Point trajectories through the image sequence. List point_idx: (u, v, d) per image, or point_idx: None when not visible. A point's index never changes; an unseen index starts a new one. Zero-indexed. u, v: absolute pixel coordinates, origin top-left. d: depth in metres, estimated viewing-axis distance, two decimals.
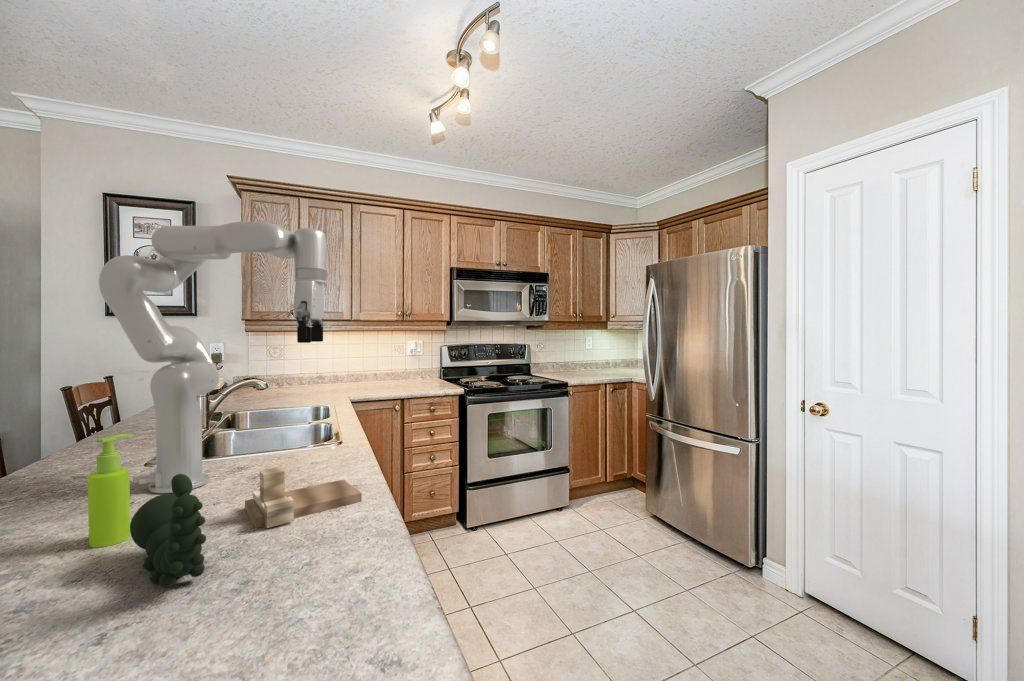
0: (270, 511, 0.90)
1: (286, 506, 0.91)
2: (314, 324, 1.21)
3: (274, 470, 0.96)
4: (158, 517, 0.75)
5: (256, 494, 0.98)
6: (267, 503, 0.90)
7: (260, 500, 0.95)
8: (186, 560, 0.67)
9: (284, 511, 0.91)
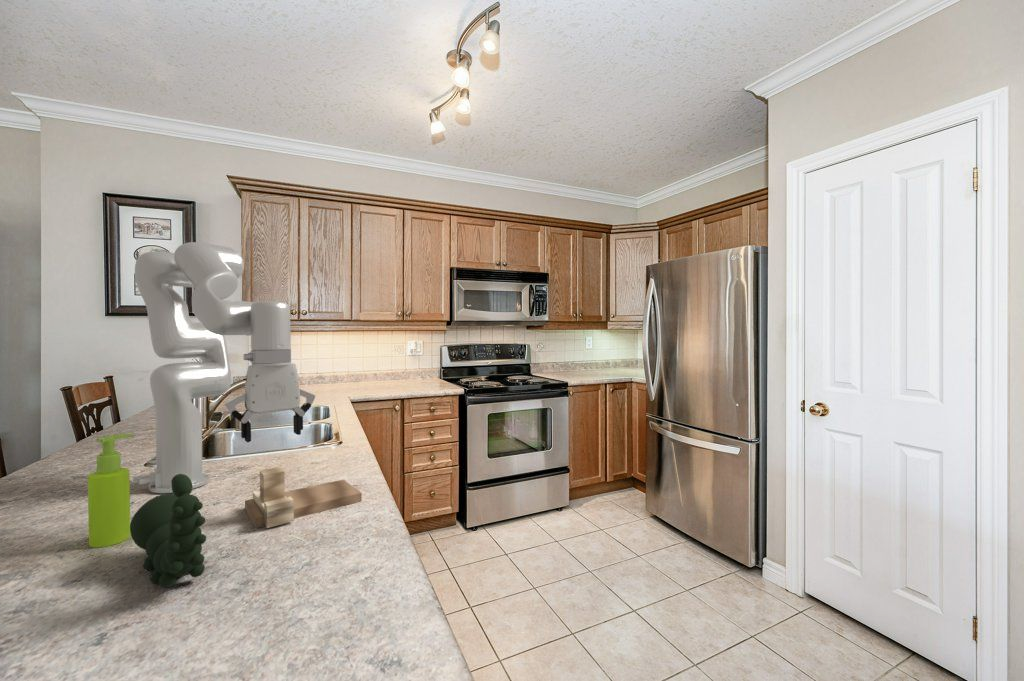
0: (270, 511, 0.90)
1: (286, 506, 0.91)
2: None
3: (274, 470, 0.96)
4: (158, 517, 0.75)
5: (256, 494, 0.98)
6: (267, 503, 0.90)
7: (260, 500, 0.95)
8: (186, 560, 0.67)
9: (284, 511, 0.91)
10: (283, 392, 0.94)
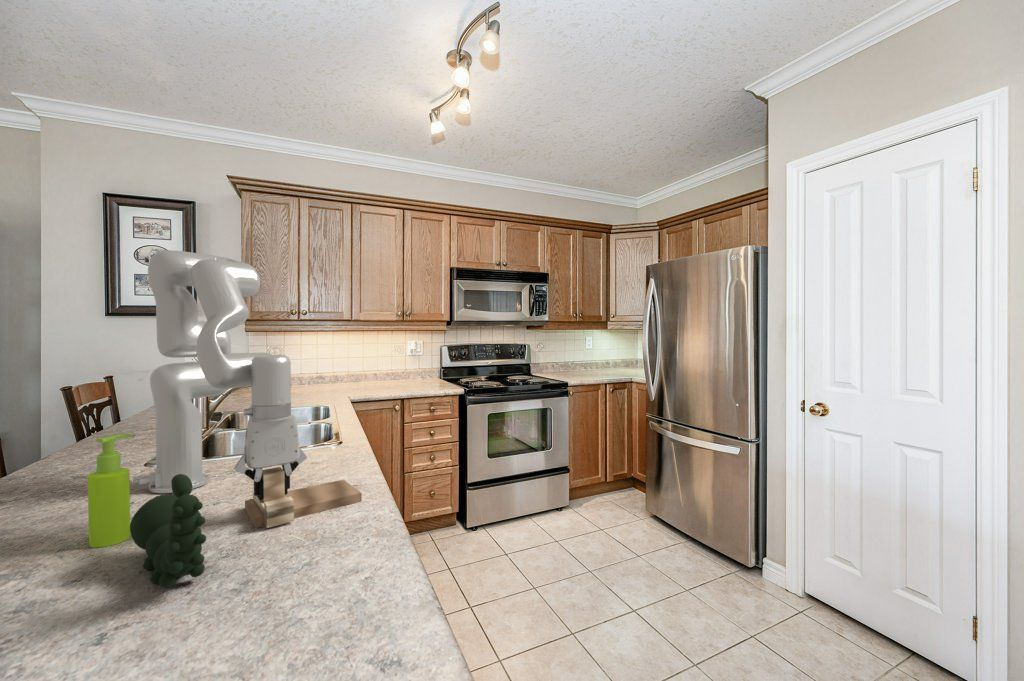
0: (270, 511, 0.90)
1: (286, 506, 0.91)
2: None
3: (274, 470, 0.96)
4: (158, 517, 0.75)
5: None
6: (267, 503, 0.90)
7: (260, 500, 0.95)
8: (186, 560, 0.67)
9: (284, 511, 0.91)
10: (283, 446, 0.95)
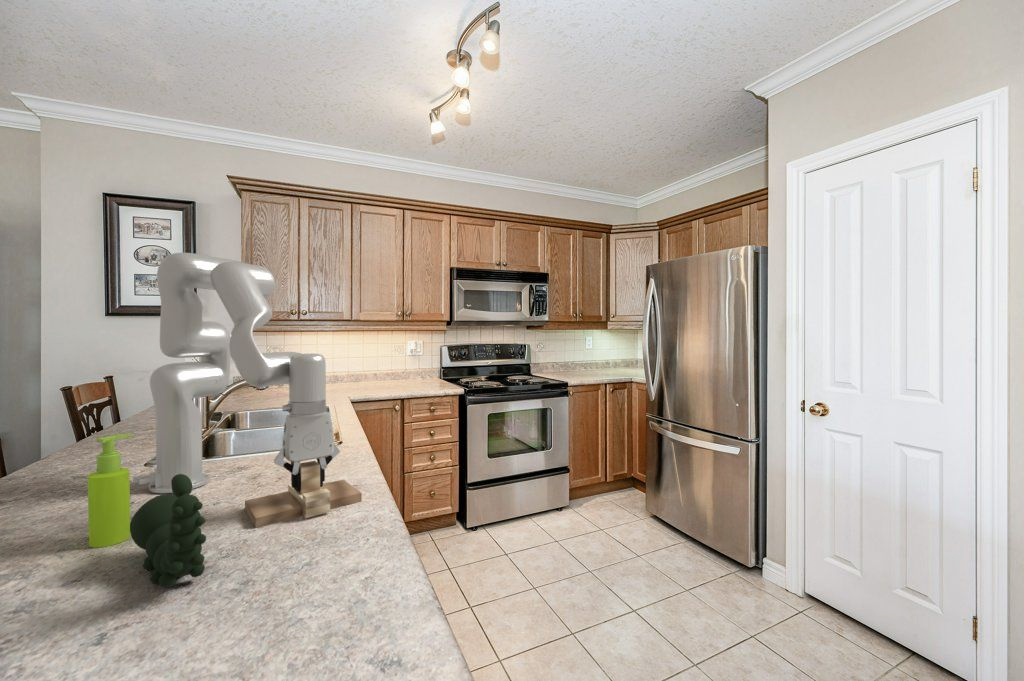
0: (308, 502, 0.94)
1: (323, 497, 0.96)
2: None
3: (310, 464, 1.01)
4: (158, 517, 0.75)
5: None
6: (305, 494, 0.95)
7: (297, 492, 1.00)
8: (186, 560, 0.67)
9: (321, 502, 0.96)
10: (318, 441, 1.00)
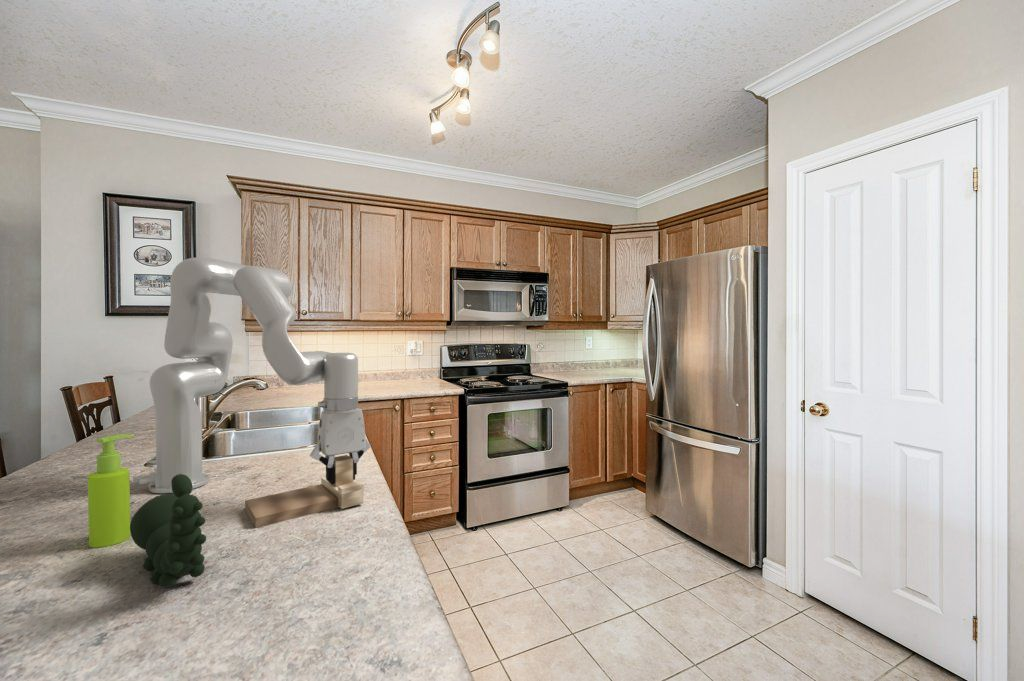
0: (344, 494, 0.99)
1: (357, 489, 1.01)
2: None
3: (343, 458, 1.06)
4: (158, 517, 0.75)
5: (325, 479, 1.08)
6: (341, 486, 1.00)
7: (331, 484, 1.05)
8: (186, 560, 0.67)
9: (356, 494, 1.01)
10: (352, 436, 1.05)
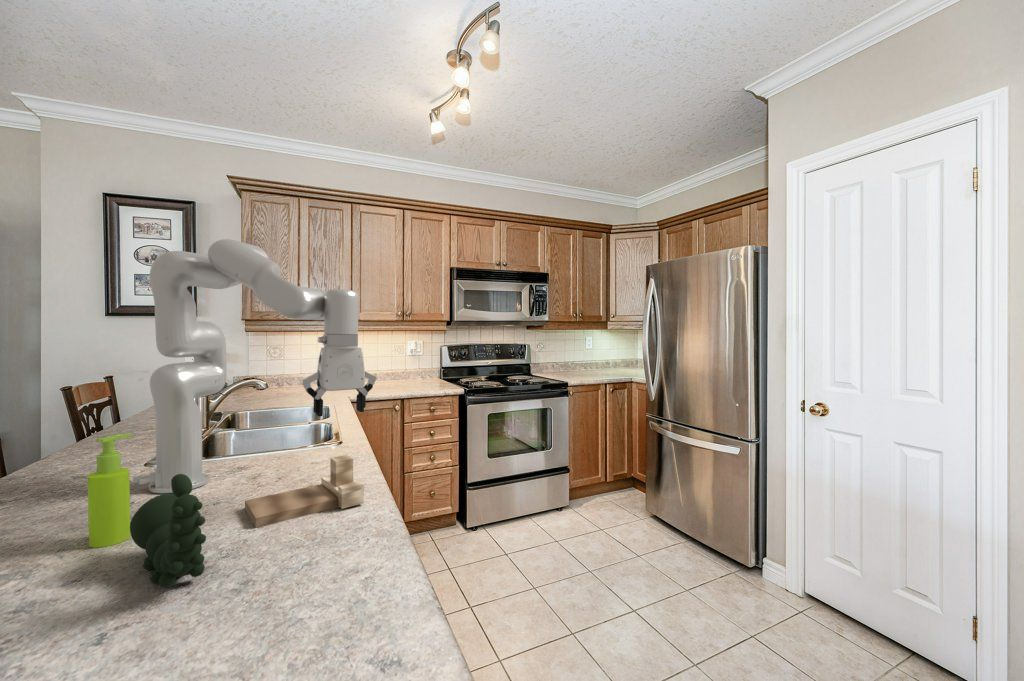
0: (344, 494, 0.99)
1: (357, 489, 1.01)
2: None
3: (343, 458, 1.06)
4: (158, 517, 0.75)
5: (326, 479, 1.08)
6: (341, 486, 1.00)
7: (332, 484, 1.05)
8: (186, 560, 0.67)
9: (356, 494, 1.01)
10: (351, 373, 1.04)
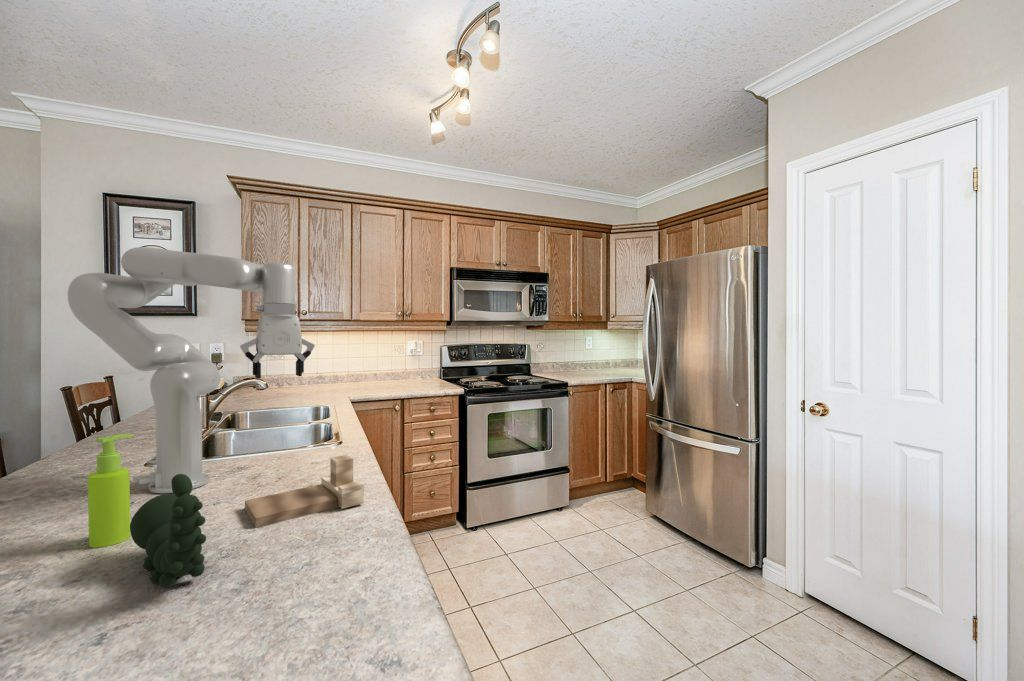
0: (344, 494, 0.99)
1: (357, 489, 1.01)
2: None
3: (343, 458, 1.06)
4: (158, 517, 0.75)
5: (326, 479, 1.08)
6: (341, 486, 1.00)
7: (332, 484, 1.05)
8: (186, 560, 0.67)
9: (356, 494, 1.01)
10: (288, 339, 1.14)
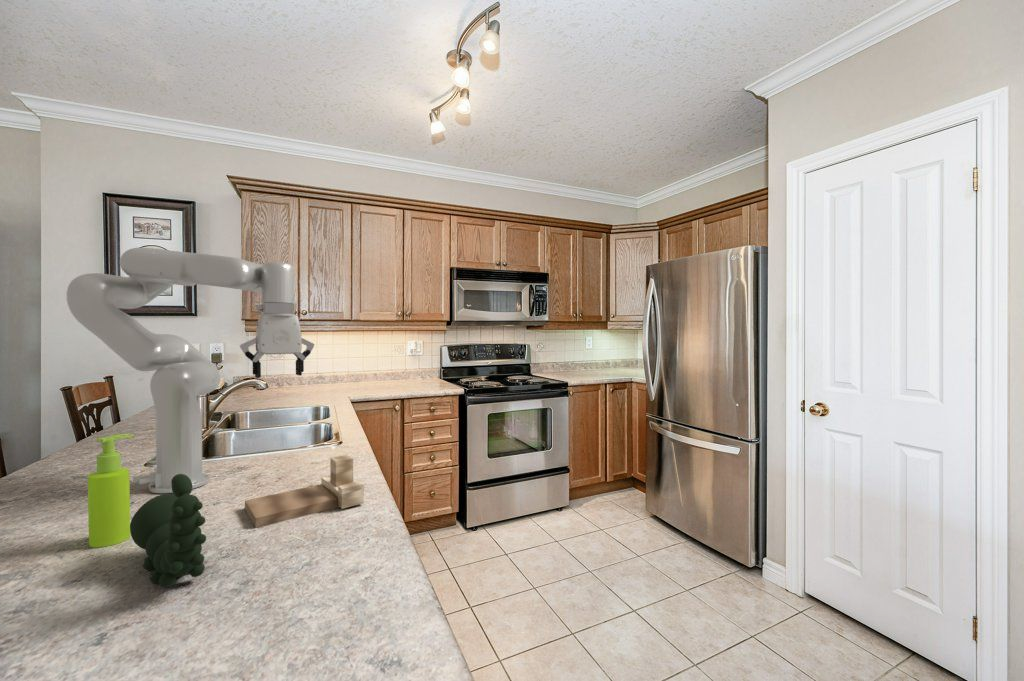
0: (344, 494, 0.99)
1: (357, 489, 1.01)
2: None
3: (343, 458, 1.06)
4: (158, 517, 0.75)
5: (326, 479, 1.08)
6: (341, 486, 1.00)
7: (332, 484, 1.05)
8: (186, 560, 0.67)
9: (356, 494, 1.01)
10: (287, 338, 1.14)
